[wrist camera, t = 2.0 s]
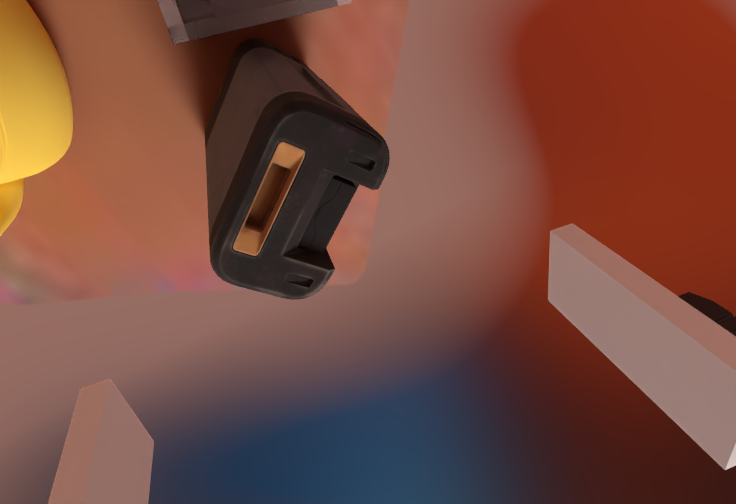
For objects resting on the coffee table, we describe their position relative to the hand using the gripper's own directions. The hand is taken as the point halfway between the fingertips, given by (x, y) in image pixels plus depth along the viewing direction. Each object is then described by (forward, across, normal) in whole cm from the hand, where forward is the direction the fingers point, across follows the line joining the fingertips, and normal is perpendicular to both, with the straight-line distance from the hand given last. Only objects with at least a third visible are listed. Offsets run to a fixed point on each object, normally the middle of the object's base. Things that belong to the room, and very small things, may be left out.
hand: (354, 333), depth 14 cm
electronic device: (+29, 0, 0) cm, 29 cm away
